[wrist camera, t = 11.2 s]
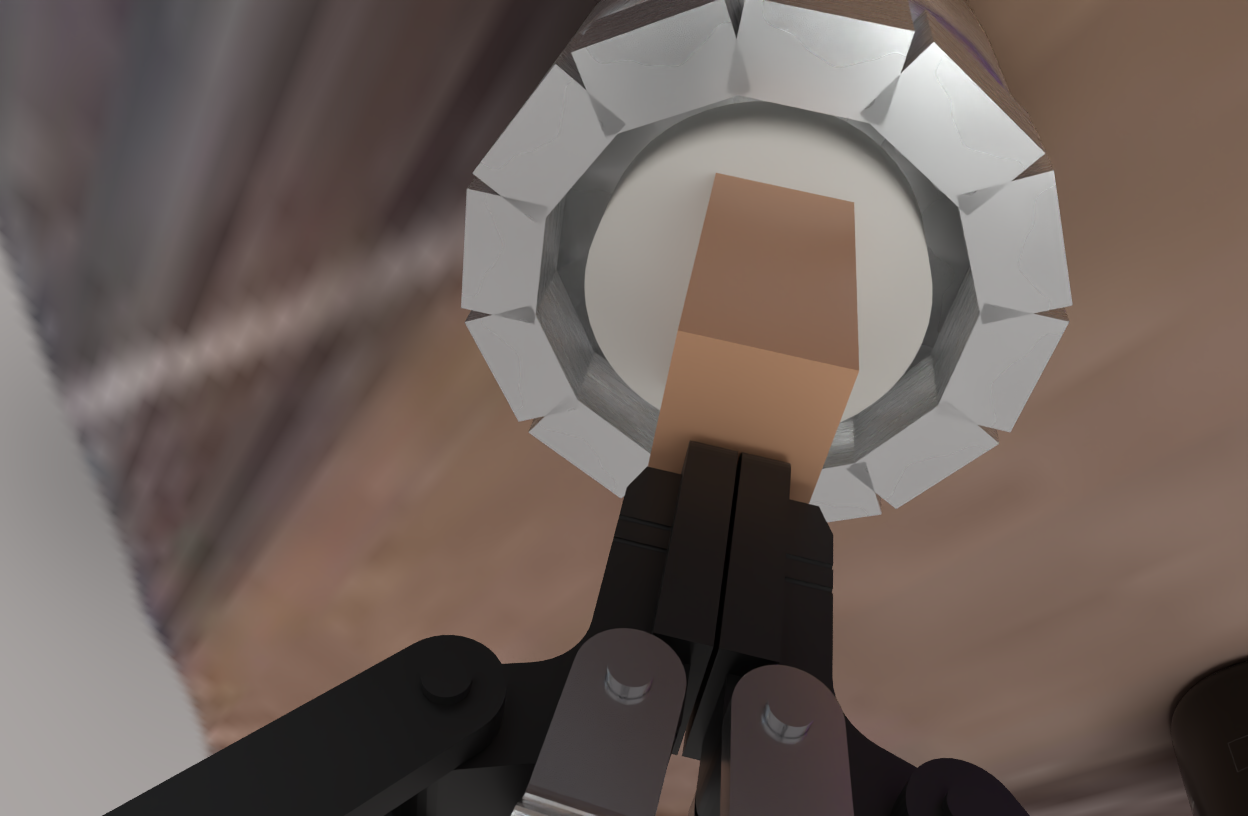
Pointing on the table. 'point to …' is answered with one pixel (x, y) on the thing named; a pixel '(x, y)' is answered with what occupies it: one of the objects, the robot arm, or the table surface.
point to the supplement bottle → (1214, 743)
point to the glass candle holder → (812, 80)
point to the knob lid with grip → (759, 282)
